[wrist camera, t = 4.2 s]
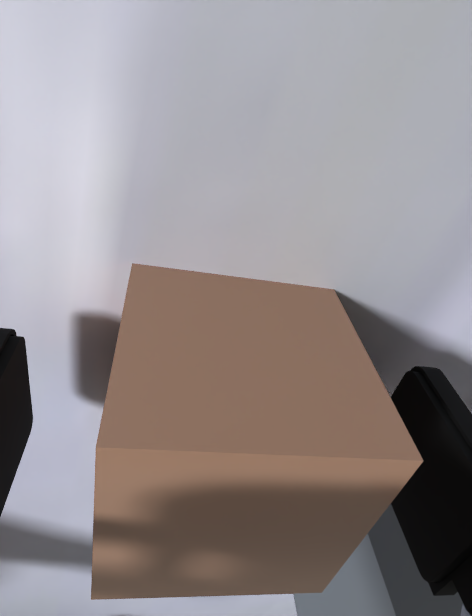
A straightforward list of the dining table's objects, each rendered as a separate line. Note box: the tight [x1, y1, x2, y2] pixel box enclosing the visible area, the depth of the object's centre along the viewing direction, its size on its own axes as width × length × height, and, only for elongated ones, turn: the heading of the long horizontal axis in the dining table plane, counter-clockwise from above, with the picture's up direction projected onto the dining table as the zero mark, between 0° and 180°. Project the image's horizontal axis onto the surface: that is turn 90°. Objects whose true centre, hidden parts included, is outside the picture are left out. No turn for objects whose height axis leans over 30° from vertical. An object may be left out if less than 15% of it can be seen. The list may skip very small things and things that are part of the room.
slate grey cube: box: [294, 504, 463, 616], centre depth 16 cm, size 5×5×5 cm
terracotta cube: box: [91, 263, 423, 600], centre depth 10 cm, size 5×5×5 cm
